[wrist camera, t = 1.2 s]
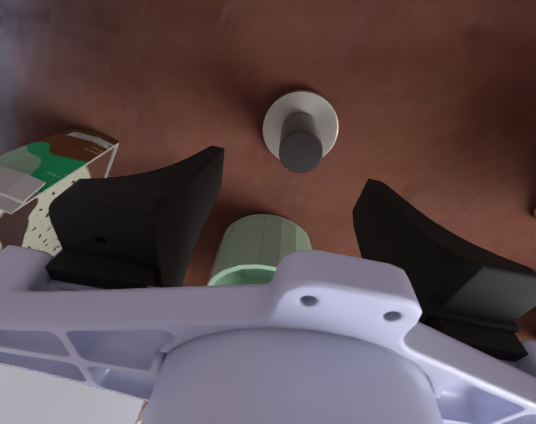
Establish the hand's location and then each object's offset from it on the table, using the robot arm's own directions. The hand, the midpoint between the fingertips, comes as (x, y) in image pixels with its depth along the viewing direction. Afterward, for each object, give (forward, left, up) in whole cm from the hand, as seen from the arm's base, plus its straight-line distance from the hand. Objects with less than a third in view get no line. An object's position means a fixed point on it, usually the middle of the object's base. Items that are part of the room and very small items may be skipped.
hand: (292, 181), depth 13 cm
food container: (+11, +16, -7) cm, 20 cm away
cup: (-7, +10, -7) cm, 14 cm away
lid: (0, 0, -7) cm, 7 cm away
